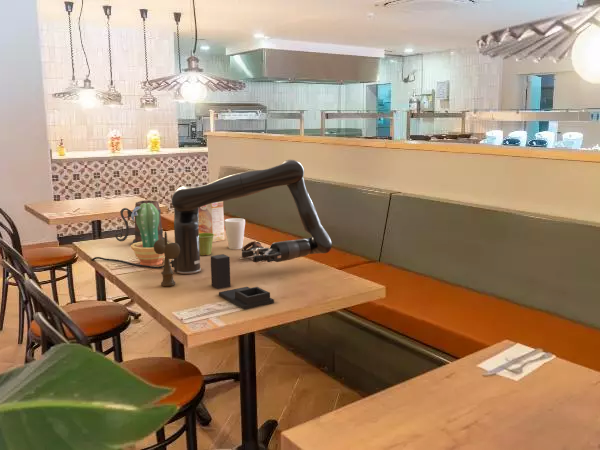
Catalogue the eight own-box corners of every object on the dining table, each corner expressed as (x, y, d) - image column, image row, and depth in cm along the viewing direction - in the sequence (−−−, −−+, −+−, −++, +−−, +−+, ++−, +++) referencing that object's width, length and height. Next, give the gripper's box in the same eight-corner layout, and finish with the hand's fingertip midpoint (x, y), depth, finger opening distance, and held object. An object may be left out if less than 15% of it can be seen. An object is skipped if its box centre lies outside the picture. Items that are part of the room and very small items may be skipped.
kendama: (166, 290, 201) (164, 234, 198) (154, 284, 208) (151, 230, 204) (182, 286, 205) (179, 232, 202) (169, 281, 212) (166, 228, 209)
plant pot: (188, 255, 251) (187, 236, 249) (201, 250, 259) (200, 232, 257) (206, 257, 247) (206, 237, 245) (219, 252, 256) (218, 233, 254)
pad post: (211, 285, 207) (210, 256, 205) (224, 283, 210) (223, 254, 208) (217, 289, 203) (216, 258, 201) (230, 286, 206) (229, 256, 204)
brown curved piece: (266, 262, 242) (255, 246, 239) (247, 270, 244) (236, 255, 241) (270, 248, 253) (261, 233, 250) (252, 256, 255) (243, 242, 252)
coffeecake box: (196, 237, 287) (194, 198, 284) (209, 235, 292) (207, 197, 288) (212, 242, 277) (210, 202, 273) (225, 240, 281) (223, 200, 278)
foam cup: (226, 245, 270) (225, 218, 267) (246, 245, 270) (245, 218, 268) (224, 250, 260) (223, 222, 258) (244, 249, 261) (244, 221, 259)
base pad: (218, 295, 196) (218, 285, 195) (247, 289, 202) (247, 279, 202) (244, 309, 182) (243, 298, 181) (274, 302, 188) (273, 292, 188)
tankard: (162, 237, 285) (160, 198, 281) (171, 244, 271) (169, 202, 267) (113, 243, 274) (110, 201, 270) (119, 250, 259) (116, 206, 256)
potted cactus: (144, 257, 247) (140, 199, 242) (177, 259, 244) (174, 201, 239) (124, 266, 232) (120, 205, 227) (159, 268, 229) (155, 207, 224)
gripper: (275, 238, 226) (238, 243, 216) (295, 244, 215) (257, 250, 205) (275, 256, 227) (238, 263, 217) (295, 263, 216) (257, 271, 206)
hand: (247, 257), depth 211 cm, fingers open, 8 cm apart
